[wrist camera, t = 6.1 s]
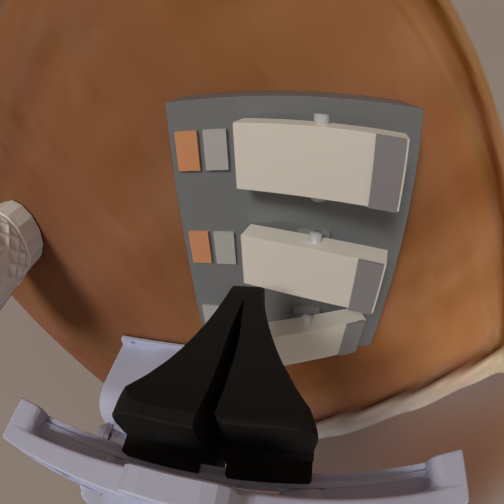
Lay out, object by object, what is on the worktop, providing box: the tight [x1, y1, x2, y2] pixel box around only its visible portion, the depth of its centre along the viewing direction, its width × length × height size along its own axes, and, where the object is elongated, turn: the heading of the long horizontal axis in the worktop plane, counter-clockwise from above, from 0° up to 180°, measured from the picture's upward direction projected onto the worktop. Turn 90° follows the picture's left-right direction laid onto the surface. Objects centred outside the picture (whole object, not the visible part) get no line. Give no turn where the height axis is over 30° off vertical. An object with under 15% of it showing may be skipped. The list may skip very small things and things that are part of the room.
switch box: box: [166, 91, 423, 346], centre depth 17 cm, size 12×16×4 cm
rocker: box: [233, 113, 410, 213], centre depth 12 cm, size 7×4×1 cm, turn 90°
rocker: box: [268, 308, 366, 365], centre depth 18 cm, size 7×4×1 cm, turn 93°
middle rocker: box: [241, 224, 388, 315], centre depth 15 cm, size 7×4×1 cm, turn 90°
